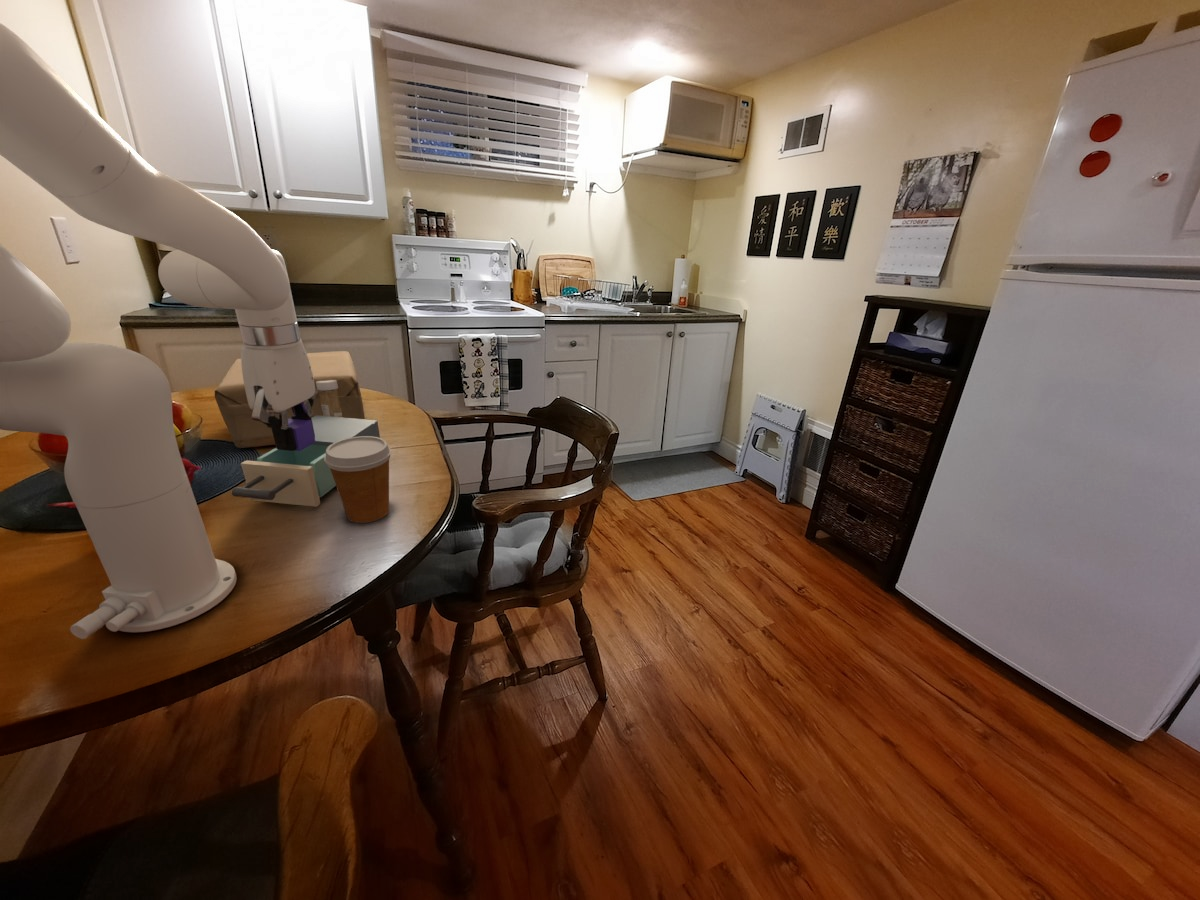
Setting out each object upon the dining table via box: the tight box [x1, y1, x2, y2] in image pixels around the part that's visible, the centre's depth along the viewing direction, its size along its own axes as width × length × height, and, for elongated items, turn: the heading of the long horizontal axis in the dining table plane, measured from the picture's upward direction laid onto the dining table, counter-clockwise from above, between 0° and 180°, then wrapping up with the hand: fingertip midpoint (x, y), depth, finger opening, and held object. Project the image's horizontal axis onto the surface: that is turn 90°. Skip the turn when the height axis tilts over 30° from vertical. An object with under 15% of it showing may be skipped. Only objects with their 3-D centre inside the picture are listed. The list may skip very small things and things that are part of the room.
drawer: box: [231, 445, 337, 507], centre depth 81 cm, size 16×11×7 cm
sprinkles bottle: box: [316, 380, 342, 417], centre depth 105 cm, size 5×5×13 cm
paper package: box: [214, 350, 366, 449], centre depth 111 cm, size 27×26×14 cm
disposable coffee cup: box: [324, 436, 392, 524], centre depth 78 cm, size 10×10×12 cm
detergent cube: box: [288, 419, 315, 451], centre depth 82 cm, size 4×4×4 cm
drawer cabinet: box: [311, 415, 381, 446], centre depth 92 cm, size 12×13×9 cm
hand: (296, 442), depth 82 cm, fingers closed on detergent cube, 4 cm apart
